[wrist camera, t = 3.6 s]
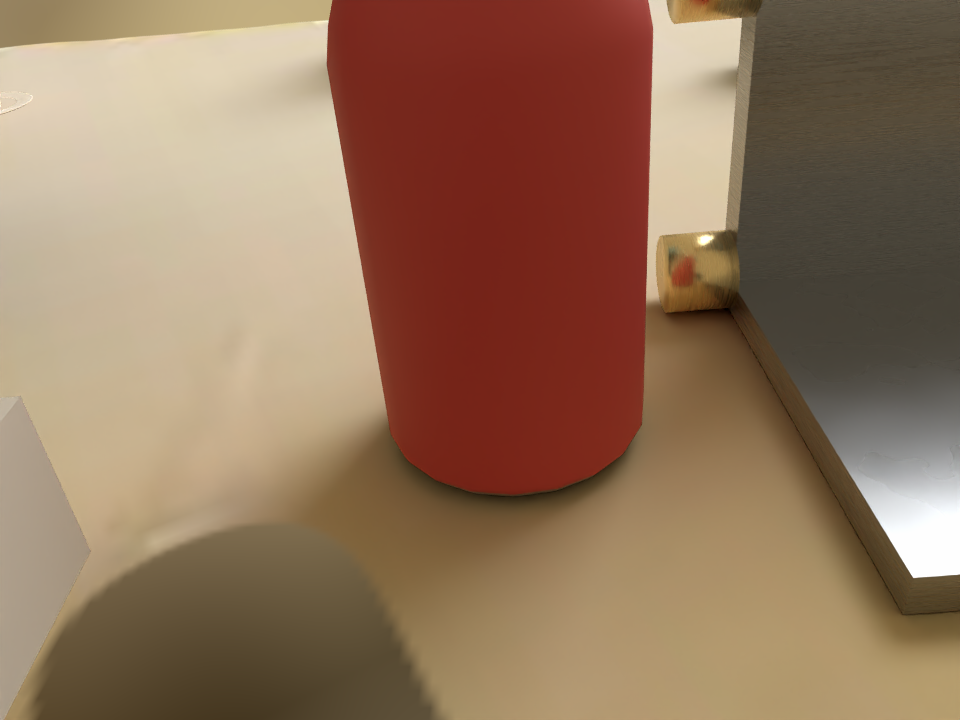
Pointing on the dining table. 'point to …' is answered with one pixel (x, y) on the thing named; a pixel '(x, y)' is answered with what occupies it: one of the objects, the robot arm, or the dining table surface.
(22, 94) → the teacup and saucer
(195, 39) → the dining table surface
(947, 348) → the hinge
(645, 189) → the beer can
